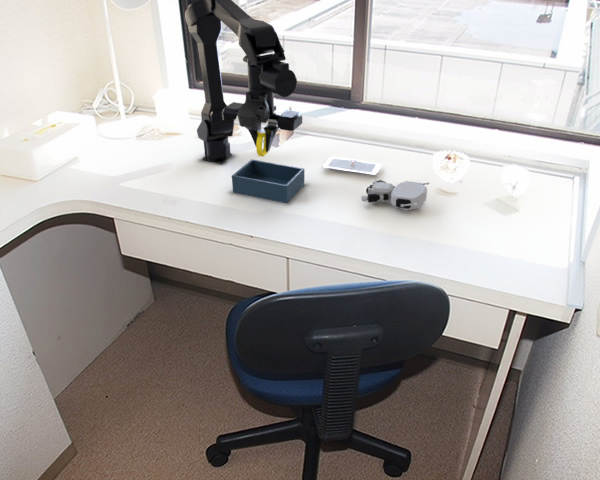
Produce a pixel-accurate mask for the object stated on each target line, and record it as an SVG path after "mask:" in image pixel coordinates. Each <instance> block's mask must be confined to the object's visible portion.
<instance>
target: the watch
mask: <svg viewBox="0 0 600 480" xmlns="http://www.w3.org/2000/svg"><path fill="white" fill-rule="evenodd" d="M257 134H258V138H257V143H256V146H255V150H256V154H257V155H258V157H263V158H264V157H265V156H266V155H267V154H268V153H269V151H268V152H266V132H265V130H264V128H261V129H260V130H257Z"/></svg>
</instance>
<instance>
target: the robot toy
mask: <svg viewBox="0 0 600 480" xmlns="http://www.w3.org/2000/svg"><path fill="white" fill-rule="evenodd" d="M430 184H431V183H430V182H424V183H423V182H419V181H418V182H417V181H408V180H407V181H401V182H400V183H398V184H396V185H394V184H392V183H391V182H386V181H384V180H381V179H379V180H374V181H372V183H371V184H369V185H368V186H367V187H366V189H365V193H366V194H367V195H362V196H361V197H360V201H362V202H367V203H389V202H390V204H391V205H392V206H393V207H394V208H396V209H401V210H403V211H406V212H408V211H410V210H414V209H418V208H419V207H421V206H422V205H423V204H424V203H425V202H426V201H427V196H428V195H427V193H428V187H427V186H426V185H430Z"/></svg>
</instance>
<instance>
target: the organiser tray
mask: <svg viewBox="0 0 600 480" xmlns="http://www.w3.org/2000/svg"><path fill="white" fill-rule="evenodd" d="M231 186H232V193H233V194H239V195H244V196H248V197H249V196H250V197H254V198H259V199H264V200H269V201H275V202H279V203H284V204H288V203H289V202H290V201H291V200H292V199H293V198H294V197H295V196H296V195H297V194H298V193H299V191H301V189H302V188H303V187H304V186H305V168H303V167H299V166H298V167H297V166H292V165H287V164H280V163H275V162H270V161H263V160H258V159H250V160H249V161H248V162H246V163H245V164H244V165H243V166H241V168H239V169H238V170H237V171H236V172H235V173H233V174H232V175H231Z"/></svg>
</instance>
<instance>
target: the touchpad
mask: <svg viewBox="0 0 600 480" xmlns="http://www.w3.org/2000/svg"><path fill="white" fill-rule="evenodd" d="M382 165H383V163H382V162H381V163H379V162H374V161H366V160H360V159H353V158H346V157H339V156H329V158H328V159H327V160H326V162H325V163H324V164H323V166H322V168H325V169H331V170H338V171H345V172H353V173H359V174H366V175H372V176H377V174H378V172H379V171H380V169H381V167H382Z"/></svg>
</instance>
